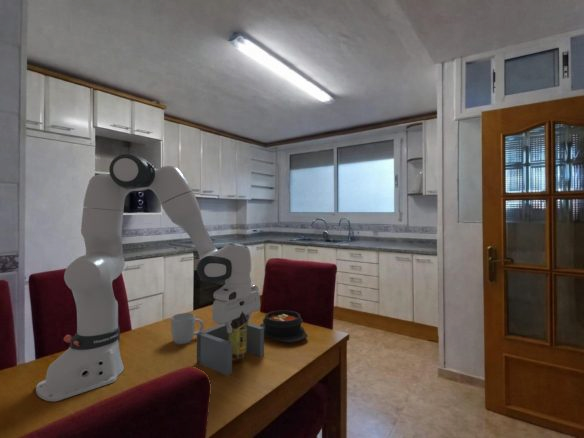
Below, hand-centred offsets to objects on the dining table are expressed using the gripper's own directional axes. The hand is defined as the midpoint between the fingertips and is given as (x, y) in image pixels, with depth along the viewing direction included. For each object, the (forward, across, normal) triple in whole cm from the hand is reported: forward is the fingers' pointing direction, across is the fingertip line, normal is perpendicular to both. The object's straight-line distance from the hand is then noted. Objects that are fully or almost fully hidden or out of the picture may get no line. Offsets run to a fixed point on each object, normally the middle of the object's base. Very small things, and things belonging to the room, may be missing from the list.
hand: (238, 329), depth 108 cm
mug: (+11, -1, -29) cm, 31 cm away
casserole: (+12, -28, -1) cm, 30 cm away
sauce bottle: (+10, 0, 0) cm, 10 cm away
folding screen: (+11, 0, -2) cm, 11 cm away
